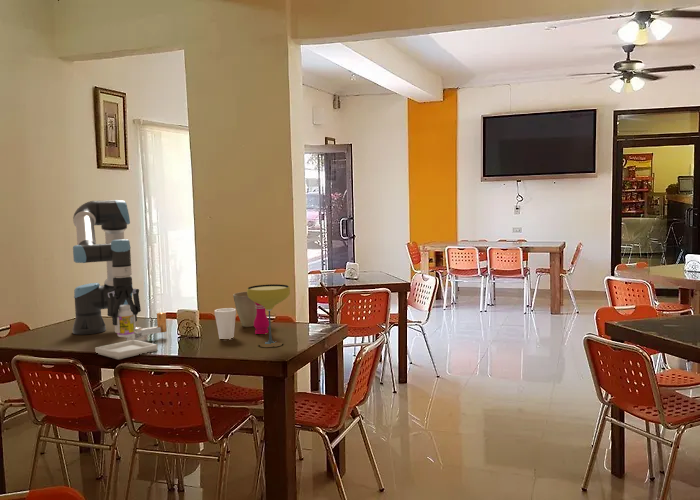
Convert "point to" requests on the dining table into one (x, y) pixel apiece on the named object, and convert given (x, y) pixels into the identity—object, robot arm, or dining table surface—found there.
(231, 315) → the foam cup
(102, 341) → the dining table surface
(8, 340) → the dining table surface
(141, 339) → the crank base
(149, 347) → the tray
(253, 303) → the plant pot
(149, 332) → the crank lever
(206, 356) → the dining table surface
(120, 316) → the supplement bottle
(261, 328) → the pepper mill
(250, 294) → the cocktail glass
